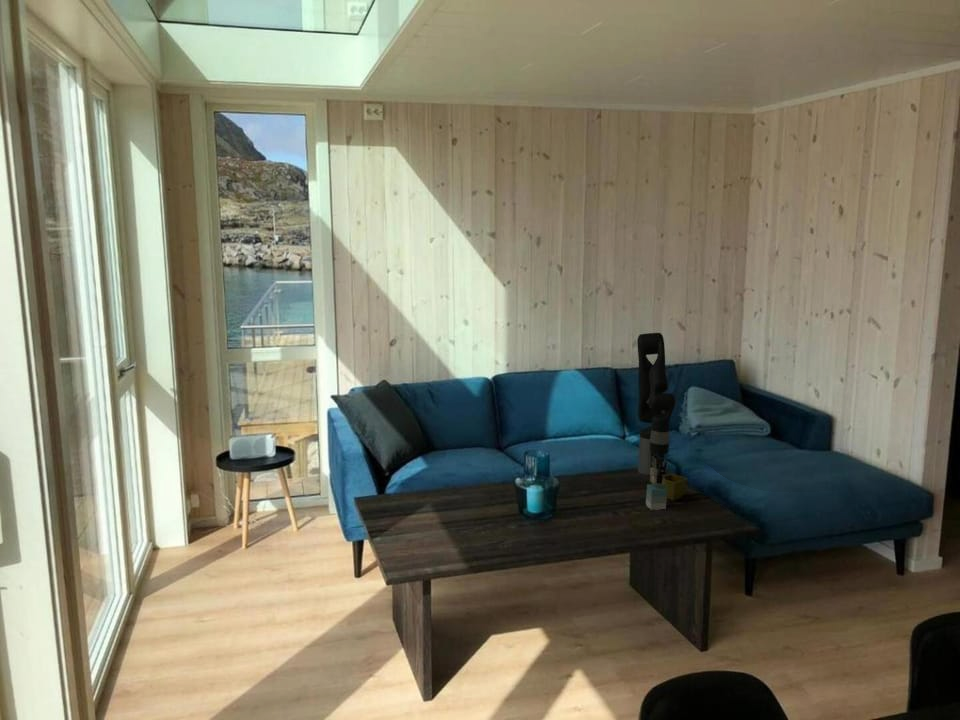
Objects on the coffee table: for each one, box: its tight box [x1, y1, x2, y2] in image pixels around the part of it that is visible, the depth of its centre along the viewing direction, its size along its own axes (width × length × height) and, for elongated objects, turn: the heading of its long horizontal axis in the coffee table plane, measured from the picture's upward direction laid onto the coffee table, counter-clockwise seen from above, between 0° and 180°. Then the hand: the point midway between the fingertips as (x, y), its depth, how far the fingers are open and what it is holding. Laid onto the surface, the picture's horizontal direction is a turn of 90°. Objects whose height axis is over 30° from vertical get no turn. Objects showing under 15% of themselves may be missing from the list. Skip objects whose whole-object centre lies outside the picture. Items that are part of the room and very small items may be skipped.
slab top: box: [646, 483, 667, 497], centre depth 316 cm, size 6×6×3 cm
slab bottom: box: [645, 497, 667, 511], centre depth 317 cm, size 6×6×3 cm
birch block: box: [649, 468, 666, 484], centre depth 315 cm, size 5×5×6 cm
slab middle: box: [645, 491, 668, 504], centre depth 316 cm, size 6×6×3 cm
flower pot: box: [662, 473, 688, 501], centre depth 327 cm, size 9×9×9 cm
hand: (657, 481), depth 315 cm, fingers closed on birch block, 4 cm apart
